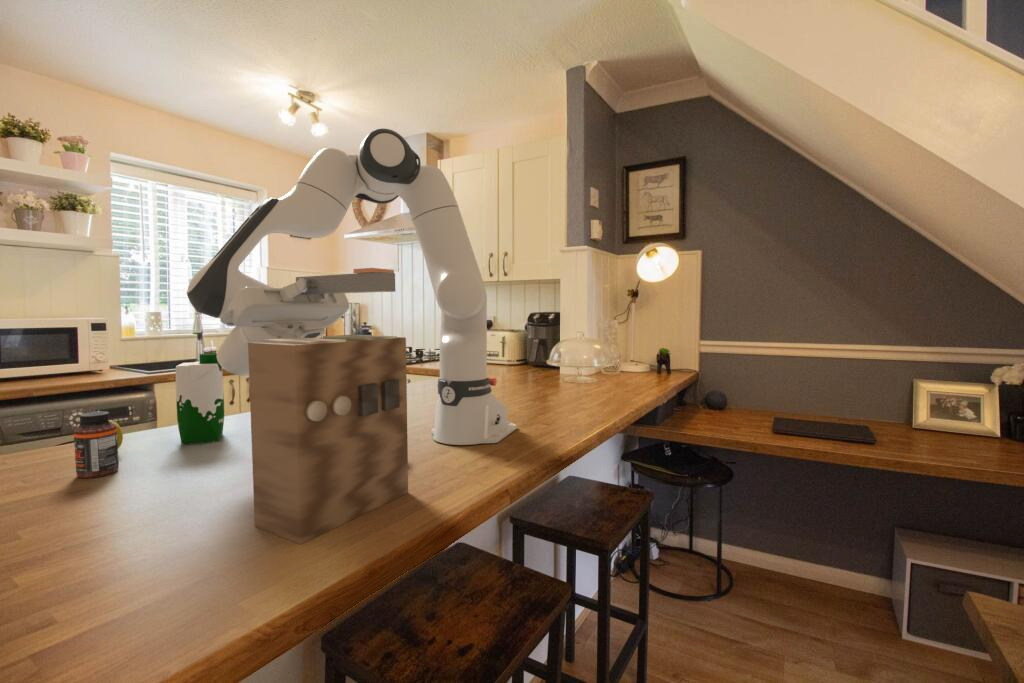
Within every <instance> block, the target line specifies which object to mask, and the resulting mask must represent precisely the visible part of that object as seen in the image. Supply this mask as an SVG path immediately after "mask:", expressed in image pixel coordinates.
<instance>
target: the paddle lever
mask: <svg viewBox="0 0 1024 683" xmlns="http://www.w3.org/2000/svg"><path fill="white" fill-rule="evenodd" d="M352 272H353V273H344V274H343V273H341V274H328V275H326V274H324V275H312V276H311V275H308V276H296V277H295V282H296V281H298V280H299V279H300V278H304V279H309V280H310V283H311V285H312V286H311V288H310V289H309V290H308V291H307V292H302V293H300V294H336V293H345V294H360V293H363V294H365V293H393V292H396V273H395V270H394V269H388V268H380V267H379V268H378V267H363V268H353V271H352Z"/></svg>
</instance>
